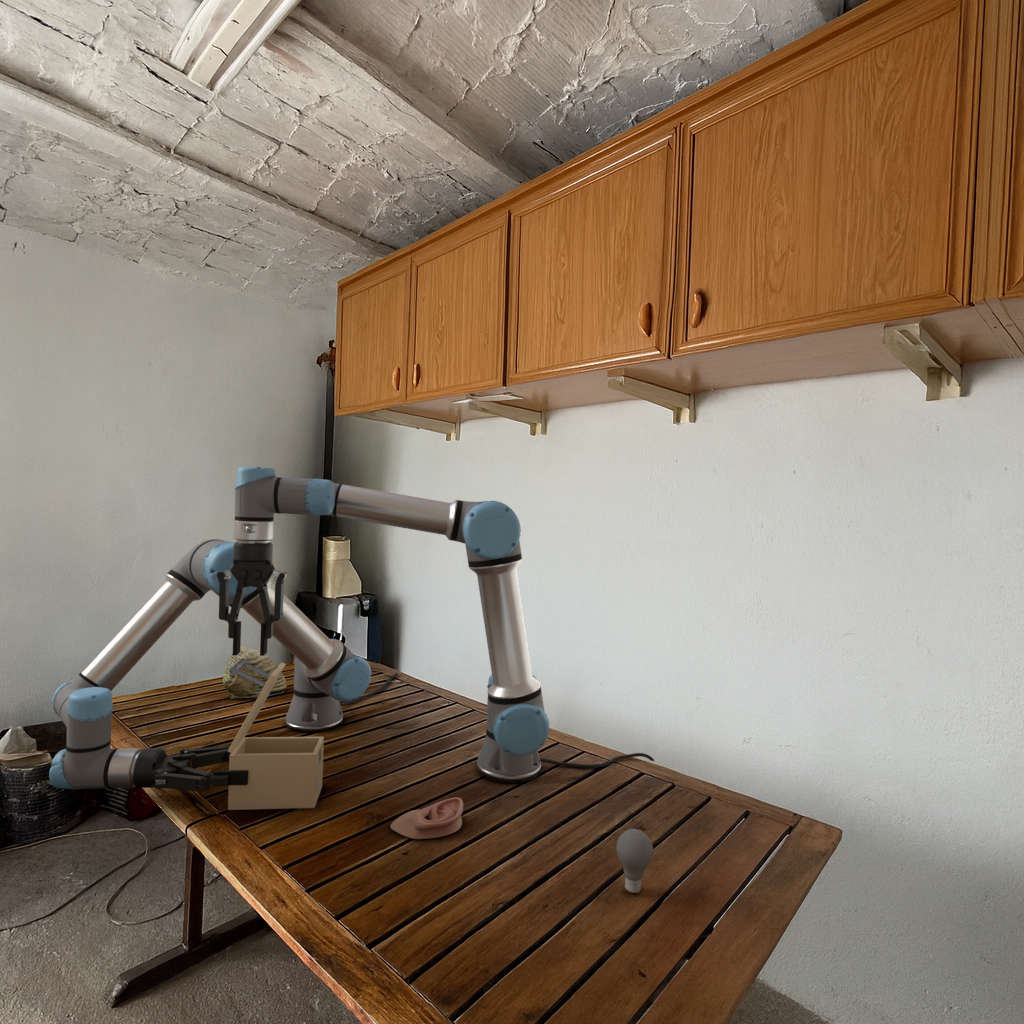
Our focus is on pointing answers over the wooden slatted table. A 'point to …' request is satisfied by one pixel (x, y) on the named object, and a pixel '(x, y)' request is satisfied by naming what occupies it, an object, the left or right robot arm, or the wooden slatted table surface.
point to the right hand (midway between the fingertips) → (250, 653)
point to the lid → (261, 698)
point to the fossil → (245, 687)
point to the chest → (277, 773)
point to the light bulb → (634, 857)
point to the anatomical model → (431, 820)
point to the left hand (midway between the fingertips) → (254, 766)
